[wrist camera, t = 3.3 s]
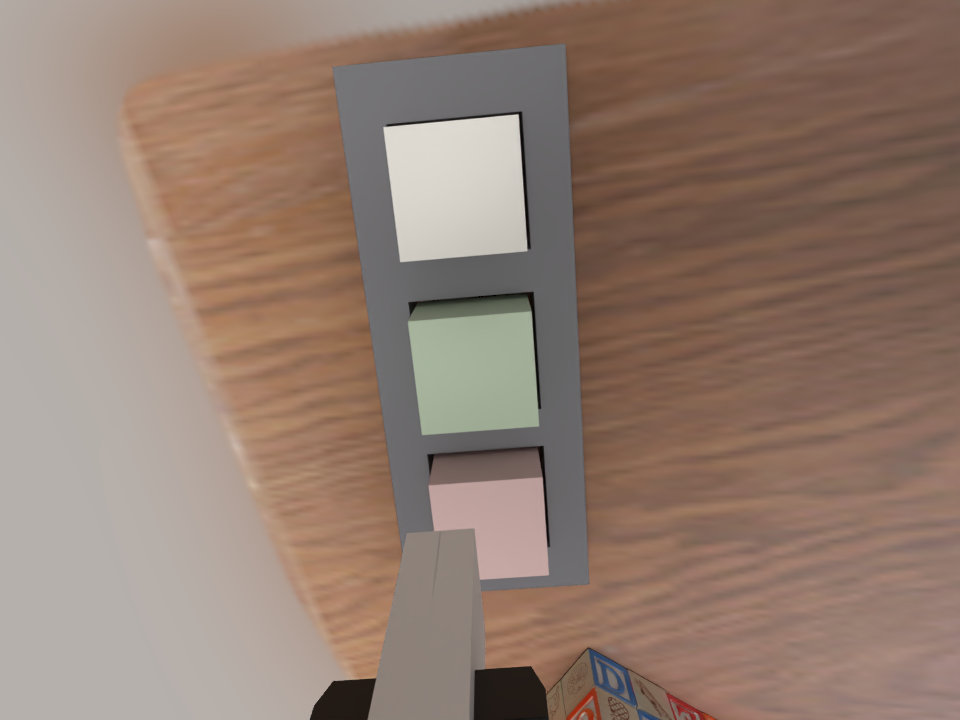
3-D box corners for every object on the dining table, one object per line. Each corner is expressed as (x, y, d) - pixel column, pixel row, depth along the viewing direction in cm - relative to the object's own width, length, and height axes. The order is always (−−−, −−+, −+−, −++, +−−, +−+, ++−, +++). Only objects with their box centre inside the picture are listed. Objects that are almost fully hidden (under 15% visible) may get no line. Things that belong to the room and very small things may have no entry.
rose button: (435, 448, 34) (428, 485, 30) (536, 441, 34) (542, 477, 30) (446, 537, 35) (440, 582, 31) (542, 530, 35) (548, 575, 31)
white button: (397, 132, 29) (383, 127, 25) (514, 120, 29) (518, 114, 25) (411, 250, 31) (400, 262, 27) (522, 240, 30) (527, 251, 27)
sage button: (417, 302, 31) (408, 321, 28) (526, 293, 31) (531, 311, 27) (429, 403, 33) (421, 435, 29) (533, 395, 33) (539, 426, 29)
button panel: (347, 76, 30) (332, 66, 27) (558, 55, 30) (565, 43, 27) (414, 563, 38) (408, 596, 35) (581, 552, 38) (589, 584, 35)
